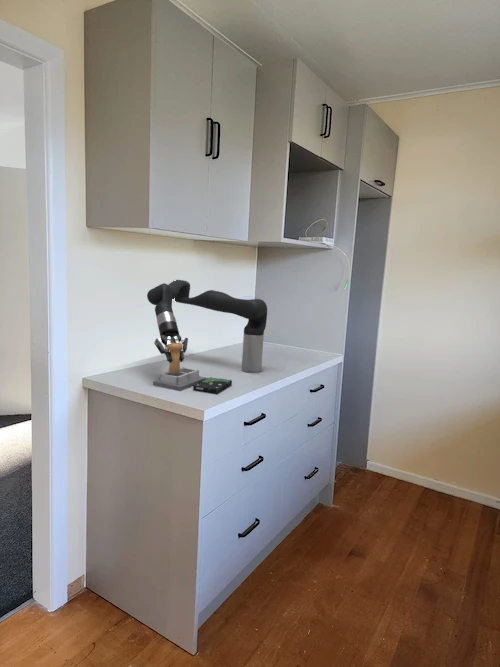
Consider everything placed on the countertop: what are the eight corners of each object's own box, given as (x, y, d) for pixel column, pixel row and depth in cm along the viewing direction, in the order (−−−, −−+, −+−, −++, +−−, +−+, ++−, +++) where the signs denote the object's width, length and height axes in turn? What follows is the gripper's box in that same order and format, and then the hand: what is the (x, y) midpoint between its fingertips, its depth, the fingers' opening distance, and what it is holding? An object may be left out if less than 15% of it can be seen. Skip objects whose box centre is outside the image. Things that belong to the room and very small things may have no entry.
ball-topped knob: (172, 368, 178) (173, 341, 176) (184, 371, 176) (185, 343, 174) (164, 371, 173) (165, 343, 171) (175, 373, 171) (177, 345, 169)
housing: (179, 376, 189) (180, 365, 188) (205, 381, 183) (206, 370, 183) (153, 385, 173) (153, 373, 172) (180, 391, 167) (181, 379, 167)
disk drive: (217, 396, 166) (232, 386, 180) (217, 389, 165) (232, 379, 179) (192, 392, 169) (208, 382, 183) (192, 385, 169) (209, 376, 182)
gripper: (181, 330, 187) (190, 365, 178) (148, 331, 180) (156, 367, 171) (186, 319, 181) (196, 355, 173) (152, 320, 174) (160, 357, 166)
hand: (176, 361), depth 172 cm, fingers closed on ball-topped knob, 4 cm apart
